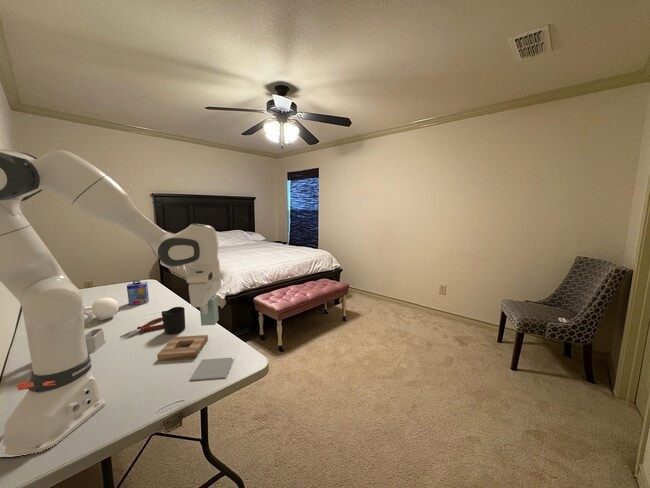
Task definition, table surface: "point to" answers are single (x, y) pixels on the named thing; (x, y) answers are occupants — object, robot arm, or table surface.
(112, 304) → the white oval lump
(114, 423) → the table surface
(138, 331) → the pliers
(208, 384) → the table surface
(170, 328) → the pen holder
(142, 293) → the ink cartridge box
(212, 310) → the square plug
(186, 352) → the plug dock
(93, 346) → the phone holder
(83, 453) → the table surface
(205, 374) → the rubber mat
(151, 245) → the robot arm
